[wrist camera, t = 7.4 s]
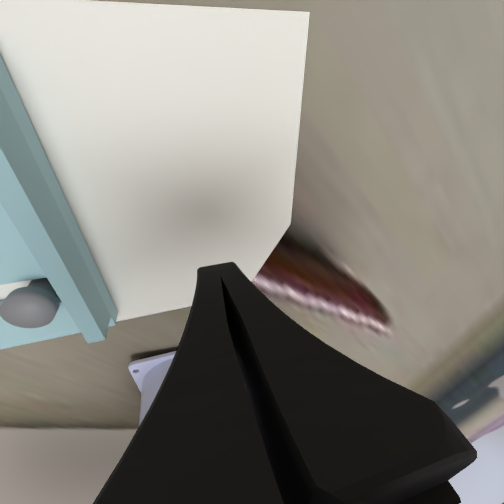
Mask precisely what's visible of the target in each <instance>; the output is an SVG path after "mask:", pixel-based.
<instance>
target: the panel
mask: <svg viewBox="0 0 504 504" xmlns="http://www.w3.org/2000/svg"><path fill="white" fill-rule="evenodd" d="M46 277H47V279H48V280H49V282H50V284H51V285H52V287H53V288H54V290H55V292H56V293H55V295H56V296H57V298H58V299H59V302H60V306H59V309H58V311H57V313H56V315H55V317H54V319H53V321H52V322H51V323H49V324H48V325H45V326H43V327H39V328H21V327H17V326H14V325H11V324H9V323H7V322H6V321H5V320H3V319H2V317H1V316H0V349H5V348H10V347H14V346H19V345H24V344H29V343H34V342H38V341H43V340H48V339H53V338H58V337H62V336H67V335H72V334H77V333H81V334H82V335H83V337H84V338H85V340H86V342H87V343H93V342H98V341H102V340H105V339H106V335H107V331H108V327H110V326H115V325H116V321H117V316H118V312H117V310H116V307H115V305H114V303H113V301H112V299H111V296H110V294H109V292H108V290H107V288H106V285H105V283H104V281H103V279H102V277H101V274H100V272H99V270H98V268H97V266H96V264H95V261H94V259H93V257H92V255H91V253H90V250H89V248H88V246H87V244H86V242H85V239H84V237H83V235H82V233H81V231H80V228H79V226H78V224H77V222H76V220H75V217H74V215H73V213H72V211H71V209H70V206H69V204H68V202H67V200H66V198H65V196H64V193H63V191H62V189H61V187H60V185H59V182H58V180H57V178H56V176H55V174H54V171H53V169H52V167H51V165H50V163H49V160H48V158H47V156H46V154H45V152H44V149H43V147H42V145H41V143H40V141H39V138H38V136H37V134H36V132H35V130H34V127H33V125H32V123H31V121H30V119H29V117H28V114H27V112H26V110H25V108H24V106H23V103H22V101H21V99H20V97H19V95H18V92H17V90H16V88H15V86H14V84H13V81H12V79H11V77H10V75H9V73H8V70H7V68H6V66H5V64H4V62H3V59H2V57H1V55H0V285H3V284H9V283H15V282H21V281H28V280H34V279H40V278H46ZM3 301H4V300H2V301H0V305H1V304H2V303H3Z"/></svg>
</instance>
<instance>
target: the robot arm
mask: <svg viewBox="0 0 504 504" xmlns="http://www.w3.org/2000/svg"><path fill="white" fill-rule="evenodd" d="M128 369H129V371H130V373H131V375H132V377H133V379H134V381H135V383H136V385H137V386H138V388H139V390H140V392H141V408H140V421H139V428H138V429H137V431H136V433H135V435H134V437H133V439H132V440H131V442H130V444H129V446H128V447H127V449H126V451H125V453H124V454H123V456H122V458H121V459H120V461H119V463H118V464H117V466H116V467H115V469H114V471H113V472H112V474H111V475H110V477H109V479H108V480H107V482H106V483H105V485H104V487H103V488H102V490H101V491H100V493H99V495H98V496H97V498H96V499H95V501H94V503H93V504H459V503H461V501H460V497H459V496H458V494H457V493H456V491H455V490H454V489H453V487H452V486H451V484H450V483H449V481H448V480H449V479H450V478H452V477H453V476H455V475H456V474H457V473H459V472H460V471H461V470H463V469H464V468H466V467H467V466H468V465H470V464H471V463H472V462H474V461H475V459H476V458H477V451H476V450H475V449H474V448H473V446H472V445H471V444H470V442H469V441H468V440H467V439H466V437H465V436H464V435H463V434H462V433H461V431H460V430H459V429H458V428H457V426H456V425H455V424H454V423H453V421H452V420H451V419H450V418H449V417H448V416H447V415H446V414H445V413H444V412H443V410H442V409H441V408H440V407H439V406H438V405H437V404H436V403H435V402H434V401H432V400H430V399H428V398H426V397H424V396H422V395H419V394H417V393H415V392H413V391H411V390H409V389H407V388H405V387H403V386H401V385H399V384H396V383H394V382H392V381H390V380H388V379H386V378H384V377H382V376H380V375H378V374H377V373H375V372H373V371H371V370H369V369H367V368H366V367H364V366H362V365H360V364H358V363H357V362H355V361H353V360H352V359H350V358H348V357H347V356H345V355H343V354H342V353H340V352H339V351H337V350H335V349H334V348H332V347H330V346H329V345H327V344H325V343H324V342H322V341H321V340H320V339H318V338H317V337H315V336H314V335H312V334H311V333H309V332H308V331H307V330H305V329H304V328H303V327H301V326H300V325H299V324H297V323H296V322H295V321H293V320H292V319H291V318H290V317H288V316H287V315H286V314H285V313H284V312H282V311H281V310H280V309H279V308H278V307H277V306H275V305H274V304H273V303H272V302H271V301H270V300H269V299H268V298H267V297H266V296H265V295H264V294H263V293H262V292H261V291H260V290H259V289H258V288H257V287H256V286H255V285H254V284H253V283H252V282H251V281H250V280H249V279H248V278H247V277H246V276H245V274H244V273H243V272H242V271H241V270H240V268H239V267H238V266H237V265H236V263H234V262H227V263H221V264H216V265H210V266H204V267H200V268H199V269H198V270H197V283H196V289H195V294H194V298H193V302H192V306H191V310H190V314H189V317H188V320H187V323H186V326H185V329H184V332H183V335H182V338H181V341H180V343H179V346H178V348H177V351H173V352H169V353H165V354H161V355H157V356H153V357H149V358H144V359H140V360H136V361H132V362H131V363H129V366H128ZM245 386H246V387H245ZM502 504H504V503H502Z"/></svg>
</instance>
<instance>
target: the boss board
mask: <svg viewBox="0 0 504 504" xmlns="http://www.w3.org/2000/svg"><path fill="white" fill-rule="evenodd" d="M309 13H310V12H298V11H279V10H260V9H240V8H221V7H202V6H183V5H164V4H145V3H126V2H107V1H87V0H0V55H1V57H2V59H3V62H4V64H5V66H6V68H7V70H8V73H9V75H10V77H11V79H12V81H13V84H14V86H15V88H16V90H17V92H18V95H19V97H20V99H21V101H22V103H23V106H24V108H25V110H26V112H27V114H28V117H29V119H30V121H31V123H32V125H33V127H34V130H35V132H36V134H37V136H38V138H39V141H40V143H41V145H42V147H43V149H44V152H45V154H46V156H47V158H48V160H49V163H50V165H51V167H52V169H53V171H54V174H55V176H56V178H57V180H58V182H59V185H60V187H61V189H62V191H63V193H64V196H65V198H66V200H67V202H68V204H69V206H70V209H71V211H72V213H73V215H74V217H75V220H76V222H77V224H78V226H79V228H80V231H81V233H82V235H83V237H84V239H85V242H86V244H87V246H88V248H89V250H90V253H91V255H92V257H93V259H94V261H95V264H96V266H97V268H98V270H99V272H100V274H101V277H102V279H103V281H104V283H105V285H106V288H107V290H108V292H109V294H110V296H111V299H112V301H113V303H114V305H115V307H116V310H117V312H118V316H117V321H122V320H126V319H131V318H136V317H141V316H146V315H151V314H156V313H160V312H165V311H170V310H175V309H180V308H185V307H190V306H192V302H193V298H194V294H195V289H196V283H197V270H198V269H199V268H200V267H204V266H210V265H216V264H221V263H227V262H234V263H236V265H237V266H238V267H239V268H240V270H241V271H242V272H243V273H244V274H245V276H246V277H247V278H248V279H249V280H250V281H251V282H252V280H253V279H254V277H255V276H256V274H257V273H258V271H259V270H260V269H261V267H262V266H263V264H264V263H265V261H266V260H267V258H268V257H269V255H270V254H271V252H272V251H273V249H274V248H275V246H276V245H277V243H278V242H279V240H280V239H281V237H282V236H283V234H284V233H285V232H286V230H287V229H288V227H289V226H290V224H291V214H292V203H293V191H294V180H295V169H296V158H297V147H298V136H299V124H300V113H301V102H302V91H303V80H304V69H305V58H306V46H307V35H308V24H309ZM55 293H56V292H55V290H54V288H53V287H52V285H51V284H50V282H49V280H48V279H47V277H46V278H40V279H34V280H28V281H21V282H15V283H9V284H3V285H0V301H2V300H4V301H3V303H2V304H1V305H0V316H1V317H2V319H3V320H5V321H6V322H7V323H9V324H11V325H14V326H17V327H21V328H39V327H43V326H45V325H48V324H49V323H51V322H52V321H53V319H54V317H55V315H56V313H57V311H58V309H59V306H60V302H59V299H58V298H57V296H56V295H55ZM117 321H116V322H117Z"/></svg>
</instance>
